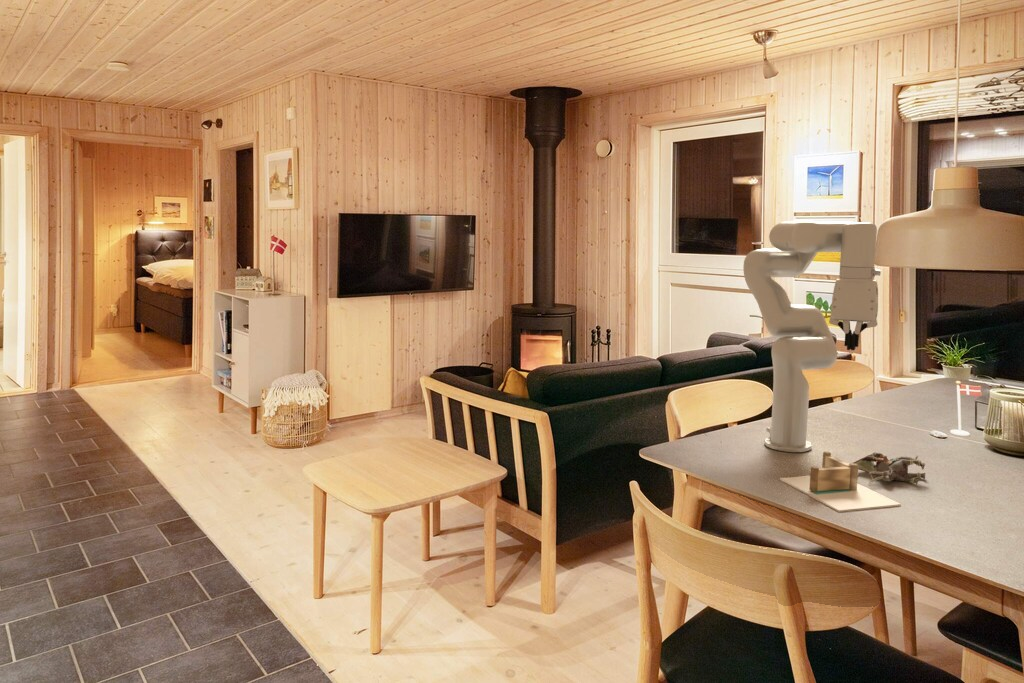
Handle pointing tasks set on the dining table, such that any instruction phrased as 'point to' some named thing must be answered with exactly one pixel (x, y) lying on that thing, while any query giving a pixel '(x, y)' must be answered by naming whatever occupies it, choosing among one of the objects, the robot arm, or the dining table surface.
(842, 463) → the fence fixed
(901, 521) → the dining table surface
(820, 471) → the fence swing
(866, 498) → the card
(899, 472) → the figurine
